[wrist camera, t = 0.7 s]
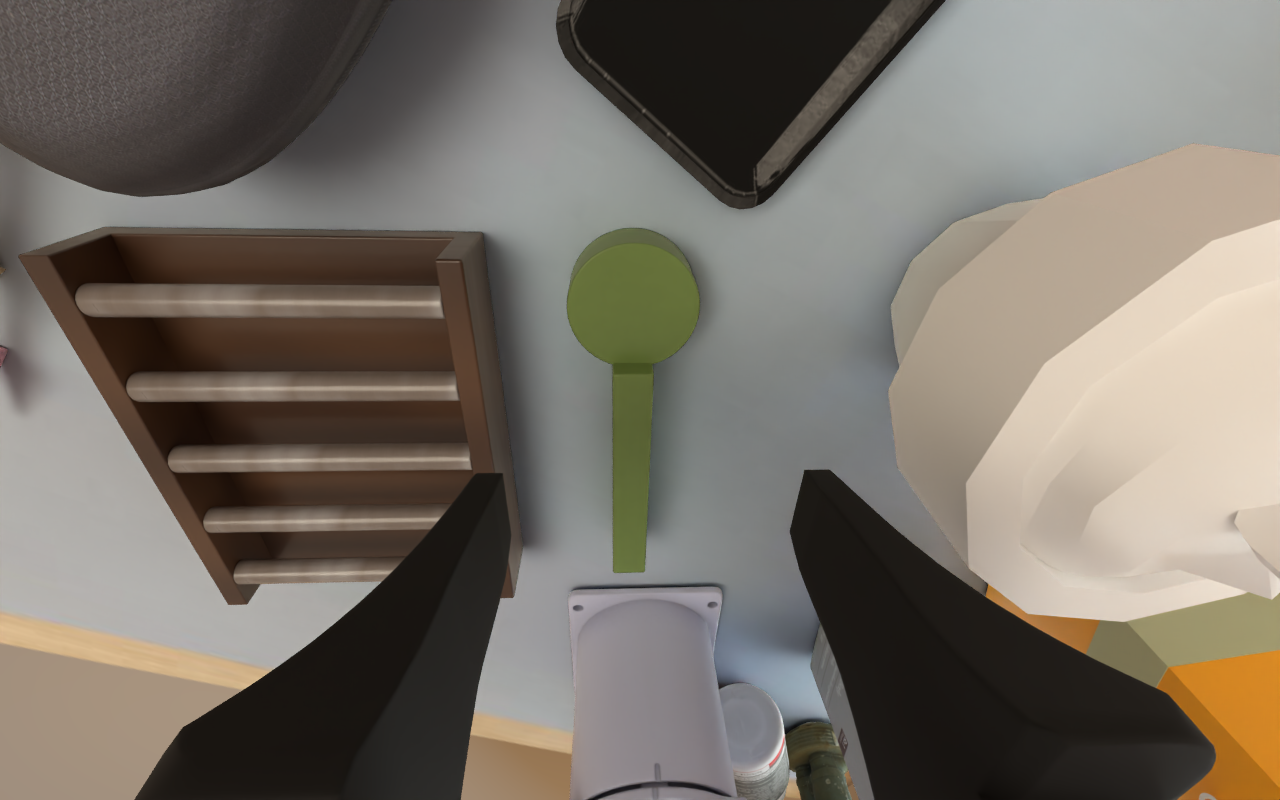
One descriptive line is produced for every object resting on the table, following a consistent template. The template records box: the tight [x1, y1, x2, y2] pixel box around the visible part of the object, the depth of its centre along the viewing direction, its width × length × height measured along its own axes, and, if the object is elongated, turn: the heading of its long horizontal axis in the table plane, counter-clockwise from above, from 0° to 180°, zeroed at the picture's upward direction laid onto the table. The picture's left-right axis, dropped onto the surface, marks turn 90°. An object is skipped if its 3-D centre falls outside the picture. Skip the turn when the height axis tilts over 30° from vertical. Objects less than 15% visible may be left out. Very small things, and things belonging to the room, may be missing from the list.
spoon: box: [567, 228, 700, 573], centre depth 21 cm, size 14×4×3 cm, turn 179°
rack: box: [18, 227, 523, 605], centre depth 20 cm, size 15×12×3 cm
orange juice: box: [986, 584, 1280, 800], centre depth 19 cm, size 8×9×20 cm
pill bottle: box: [719, 683, 789, 800], centre depth 33 cm, size 5×5×8 cm
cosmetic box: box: [810, 623, 874, 800], centre depth 23 cm, size 8×7×16 cm
